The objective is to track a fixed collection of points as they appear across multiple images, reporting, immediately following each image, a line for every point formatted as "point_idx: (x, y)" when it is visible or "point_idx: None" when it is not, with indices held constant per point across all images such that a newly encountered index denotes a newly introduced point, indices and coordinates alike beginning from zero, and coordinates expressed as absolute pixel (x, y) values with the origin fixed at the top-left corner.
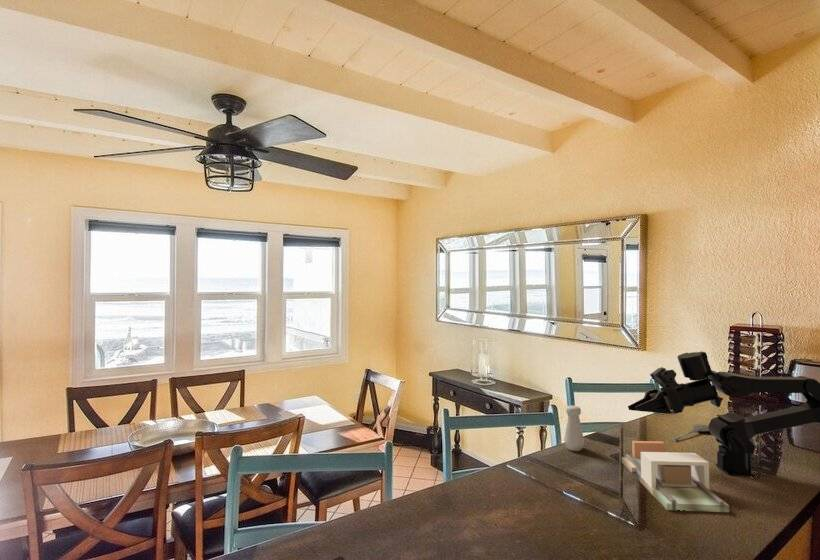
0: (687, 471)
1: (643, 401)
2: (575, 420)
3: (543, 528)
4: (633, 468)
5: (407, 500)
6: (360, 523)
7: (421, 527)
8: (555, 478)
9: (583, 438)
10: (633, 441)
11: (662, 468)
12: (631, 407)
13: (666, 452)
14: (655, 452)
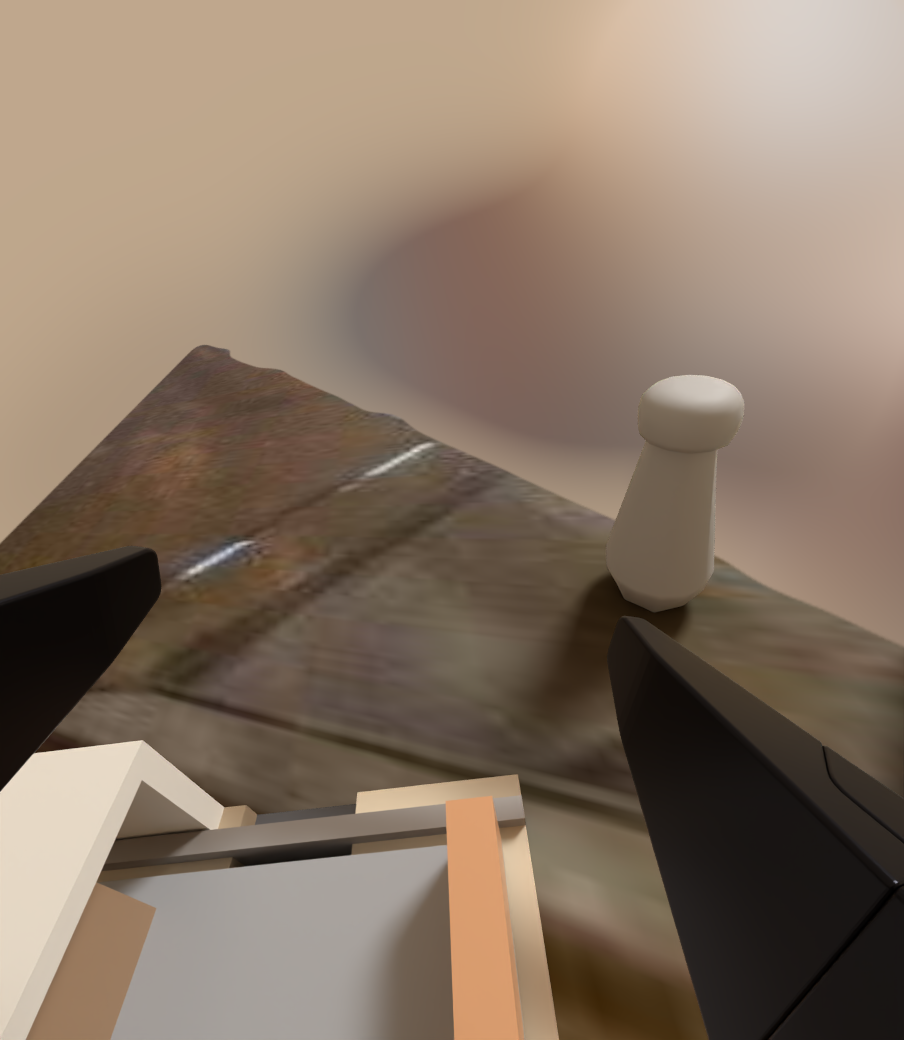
0: None
1: (811, 877)
2: (647, 467)
3: (103, 511)
4: (358, 806)
5: (276, 379)
6: (226, 368)
7: (190, 403)
8: (335, 527)
9: (662, 579)
10: (479, 804)
11: None
12: (627, 663)
13: (17, 991)
14: (75, 859)
